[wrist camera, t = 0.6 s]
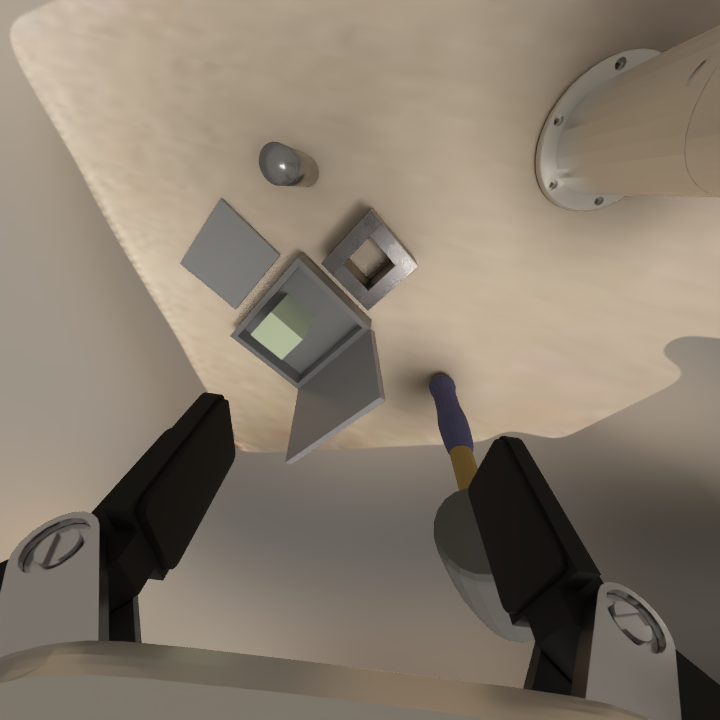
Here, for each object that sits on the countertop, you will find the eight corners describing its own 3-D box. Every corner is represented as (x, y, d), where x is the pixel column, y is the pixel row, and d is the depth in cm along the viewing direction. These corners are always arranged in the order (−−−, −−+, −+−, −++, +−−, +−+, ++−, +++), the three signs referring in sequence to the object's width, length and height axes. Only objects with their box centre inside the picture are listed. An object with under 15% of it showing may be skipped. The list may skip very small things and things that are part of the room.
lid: (380, 396, 28) (385, 400, 28) (370, 328, 38) (374, 331, 39) (285, 462, 35) (290, 464, 35) (298, 389, 45) (302, 391, 45)
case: (303, 252, 36) (297, 257, 34) (371, 319, 41) (370, 328, 38) (239, 327, 43) (230, 335, 40) (303, 378, 47) (298, 389, 45)
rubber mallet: (405, 358, 44) (433, 593, 18) (452, 341, 42) (559, 581, 16) (430, 413, 49) (478, 653, 24) (472, 401, 47) (576, 649, 22)
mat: (222, 198, 34) (220, 198, 33) (280, 254, 37) (279, 255, 36) (182, 262, 38) (180, 263, 38) (237, 307, 41) (235, 309, 41)
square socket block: (372, 207, 33) (370, 209, 29) (414, 258, 36) (417, 266, 32) (327, 255, 36) (321, 263, 33) (369, 298, 39) (367, 310, 35)
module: (288, 293, 39) (270, 312, 33) (314, 317, 41) (302, 339, 35) (269, 313, 41) (250, 334, 35) (295, 336, 43) (281, 360, 37)
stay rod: (303, 148, 31) (272, 132, 22) (323, 171, 32) (301, 164, 23) (287, 171, 32) (252, 164, 23) (307, 193, 33) (280, 193, 24)
